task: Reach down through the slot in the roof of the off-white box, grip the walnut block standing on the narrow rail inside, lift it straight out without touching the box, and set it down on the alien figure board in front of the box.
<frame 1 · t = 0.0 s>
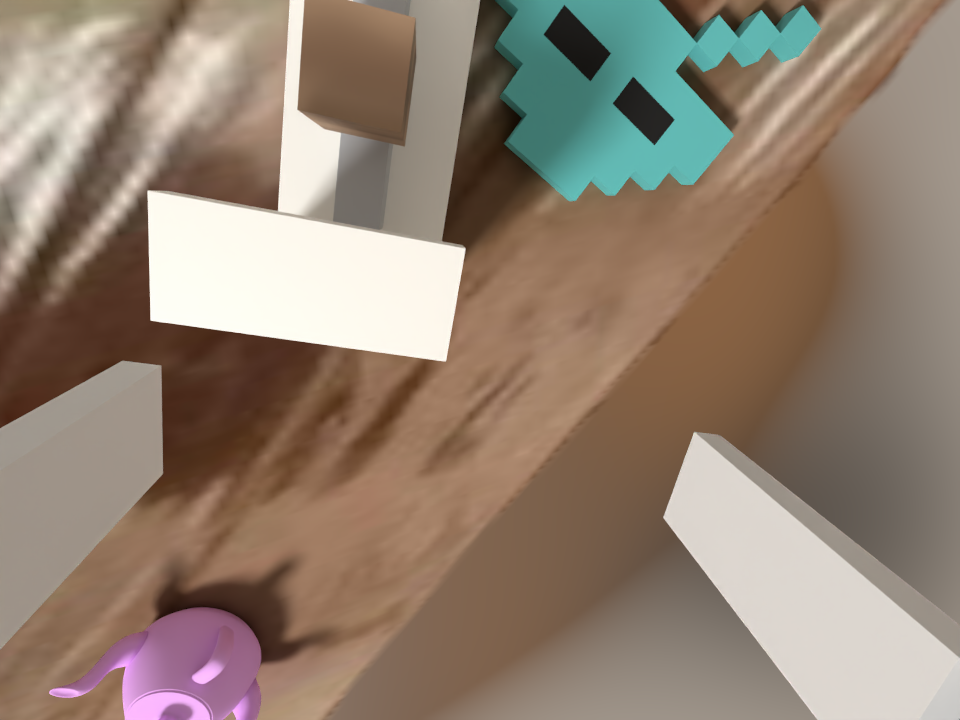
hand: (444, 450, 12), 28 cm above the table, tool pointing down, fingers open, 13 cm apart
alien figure: (619, 60, 35), on the table
walnut block: (369, 94, 29), point 5 cm above the table, touching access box
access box: (376, 108, 34), on the table
teapot: (204, 640, 47), on the table
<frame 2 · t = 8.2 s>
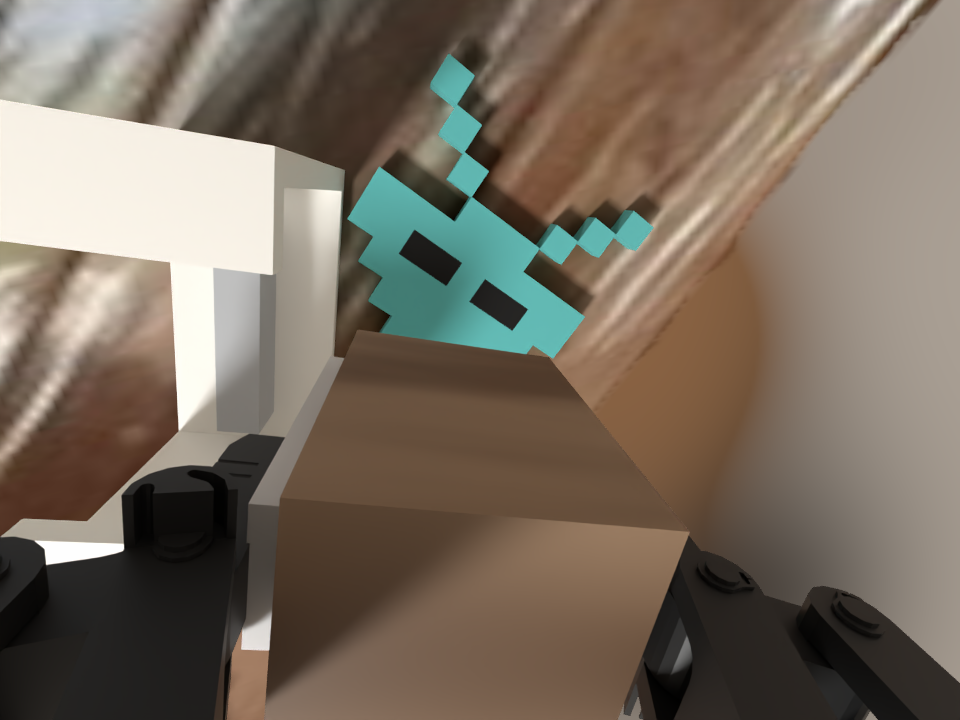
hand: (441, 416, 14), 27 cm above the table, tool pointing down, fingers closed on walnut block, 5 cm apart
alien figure: (478, 255, 40), on the table
walnut block: (440, 430, 13), point 28 cm above the table, touching gripper
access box: (259, 315, 38), on the table
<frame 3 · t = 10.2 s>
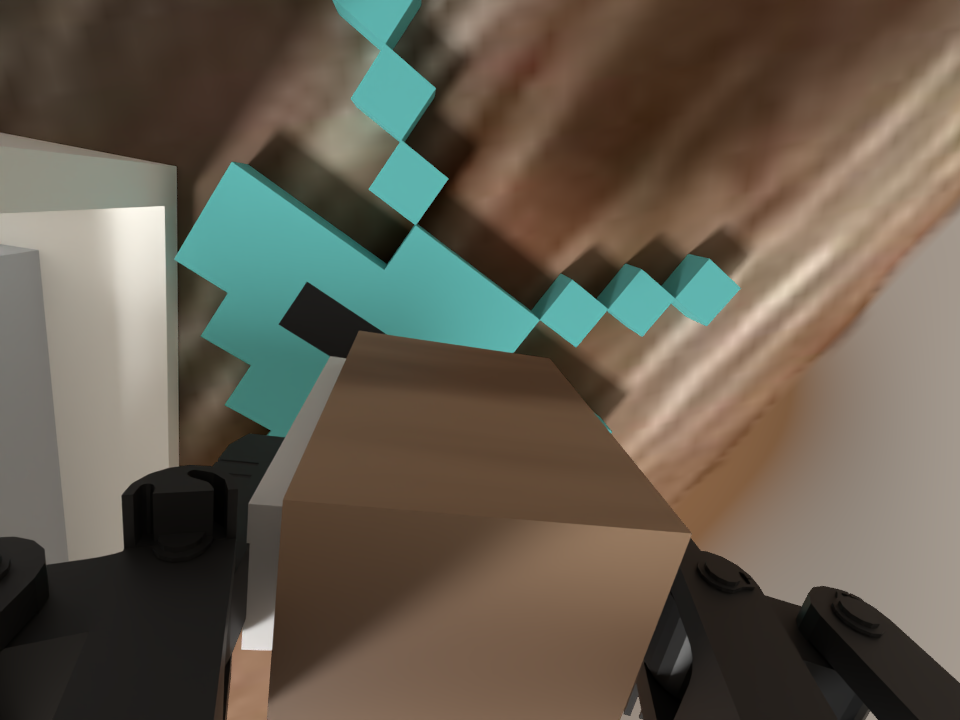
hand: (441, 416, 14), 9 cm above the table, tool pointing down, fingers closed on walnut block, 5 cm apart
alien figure: (432, 322, 23), on the table
walnut block: (442, 431, 13), point 10 cm above the table, touching gripper
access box: (34, 419, 21), on the table
when the fingers open (3 cm above the table, at t = 12.0 s): walnut block drops 2 cm, resting on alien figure.
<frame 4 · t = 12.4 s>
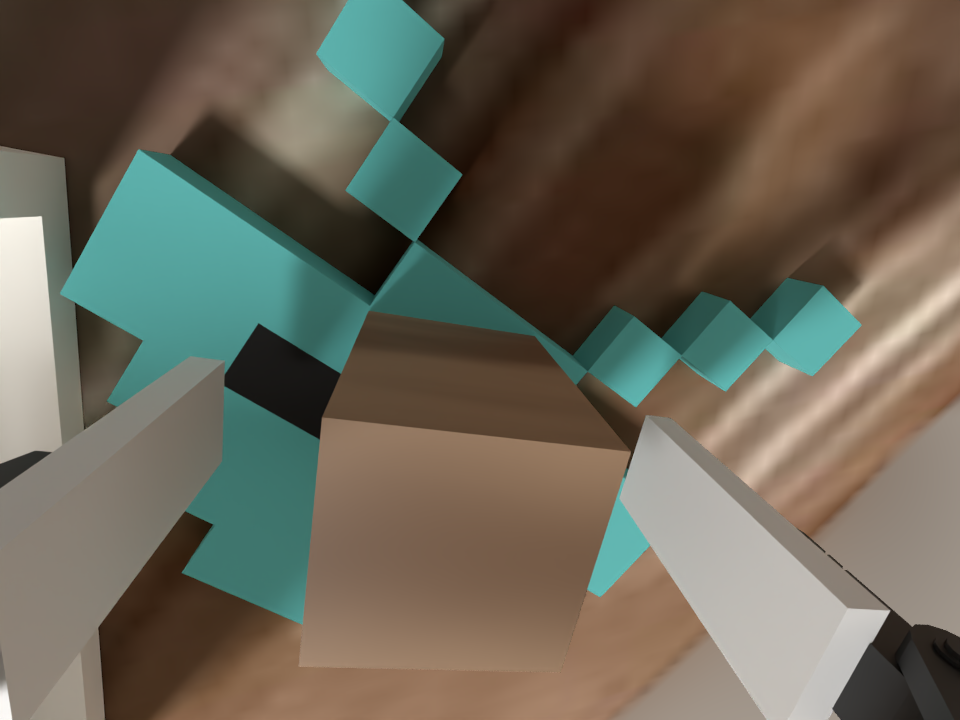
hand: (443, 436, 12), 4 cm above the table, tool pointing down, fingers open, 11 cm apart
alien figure: (438, 369, 17), on the table, touching walnut block
walnut block: (440, 400, 15), point 2 cm above the table, touching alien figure
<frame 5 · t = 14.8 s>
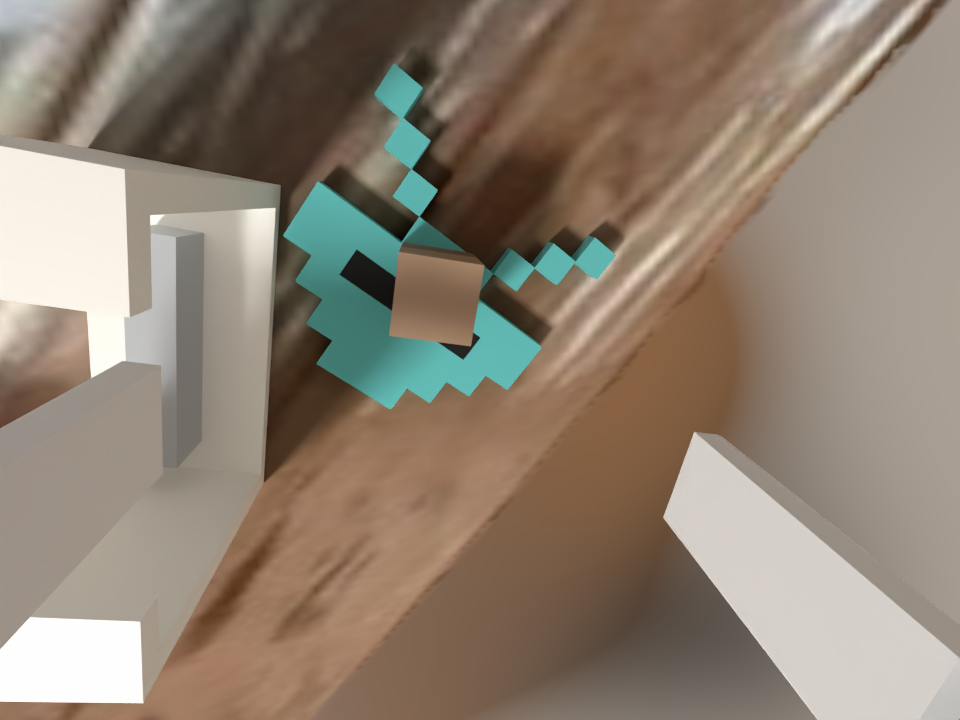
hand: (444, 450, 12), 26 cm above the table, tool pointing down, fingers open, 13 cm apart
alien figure: (429, 278, 37), on the table, touching walnut block
walnut block: (433, 282, 35), point 2 cm above the table, touching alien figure
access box: (186, 337, 35), on the table
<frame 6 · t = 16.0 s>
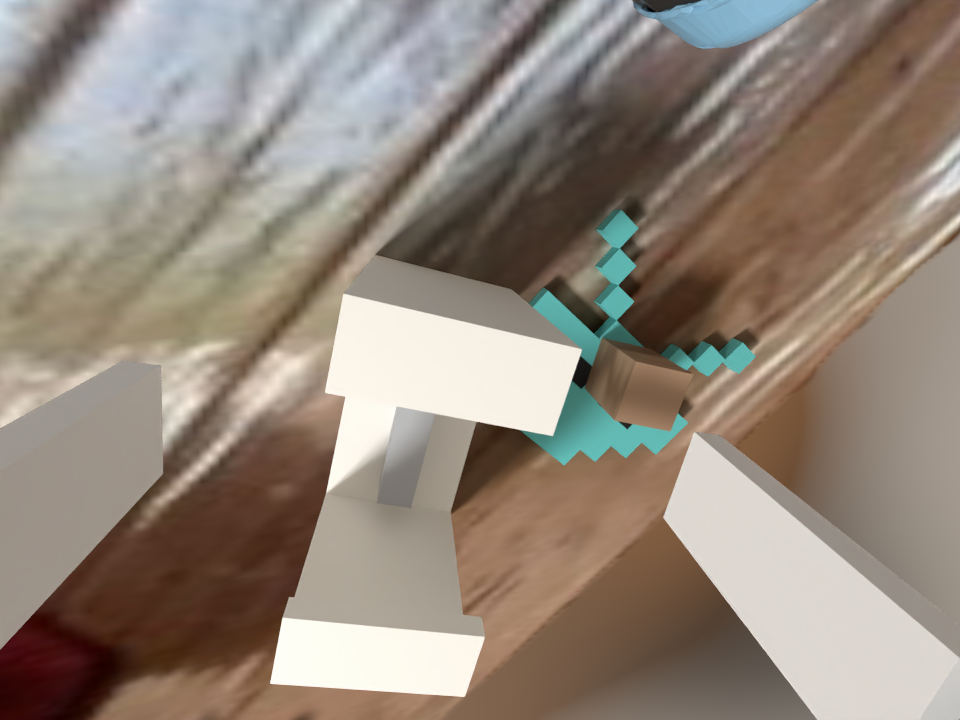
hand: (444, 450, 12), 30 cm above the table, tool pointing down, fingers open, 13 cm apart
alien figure: (604, 361, 46), on the table, touching walnut block
walnut block: (617, 368, 44), point 2 cm above the table, touching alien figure
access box: (414, 399, 44), on the table
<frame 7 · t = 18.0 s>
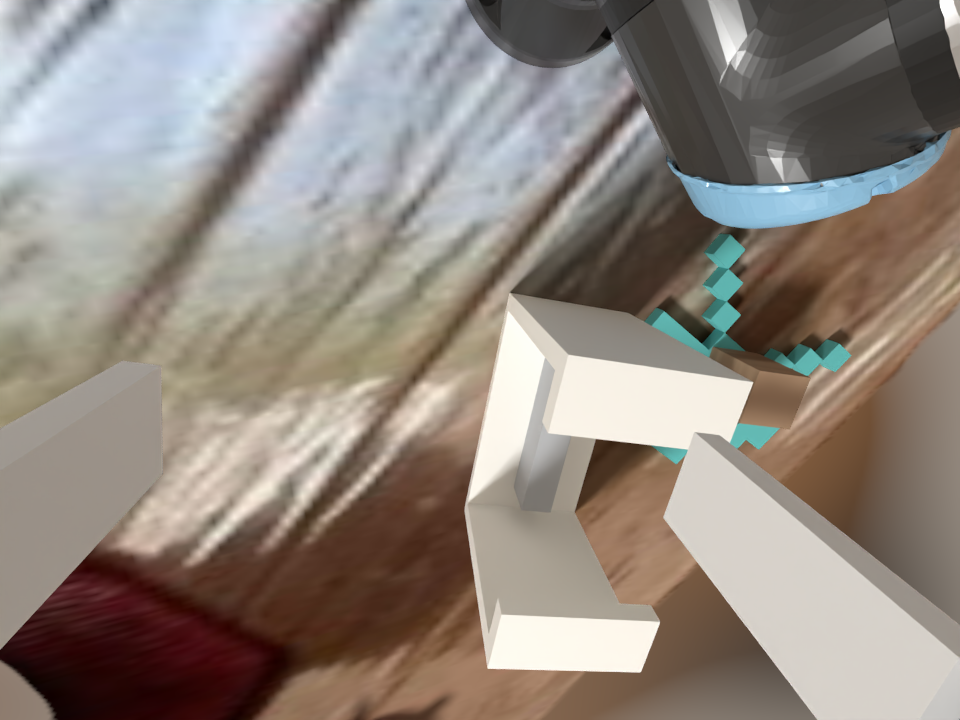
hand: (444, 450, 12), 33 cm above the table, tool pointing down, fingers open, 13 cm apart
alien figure: (708, 368, 50), on the table, touching walnut block
walnut block: (727, 373, 48), point 2 cm above the table, touching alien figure
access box: (541, 416, 49), on the table
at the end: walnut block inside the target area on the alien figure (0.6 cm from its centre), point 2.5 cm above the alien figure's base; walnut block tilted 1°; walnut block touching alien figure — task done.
